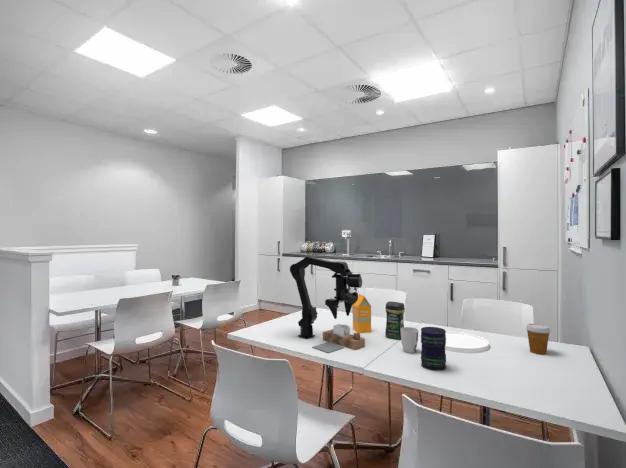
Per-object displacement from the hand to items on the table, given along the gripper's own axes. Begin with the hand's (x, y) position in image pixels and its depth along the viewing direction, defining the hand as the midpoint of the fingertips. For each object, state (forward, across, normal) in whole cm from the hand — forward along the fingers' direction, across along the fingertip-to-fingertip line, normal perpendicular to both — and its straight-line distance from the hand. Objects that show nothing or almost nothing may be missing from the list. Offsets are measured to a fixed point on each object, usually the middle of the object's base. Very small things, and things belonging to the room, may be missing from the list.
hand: (341, 317), depth 179 cm
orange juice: (+12, +22, +5) cm, 26 cm away
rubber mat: (+12, -12, -2) cm, 17 cm away
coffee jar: (+12, +25, -15) cm, 32 cm away
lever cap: (+8, -2, -2) cm, 8 cm away
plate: (+13, +38, -42) cm, 59 cm away
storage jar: (+13, +2, -49) cm, 50 cm away
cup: (+12, +11, -32) cm, 36 cm away
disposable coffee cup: (+13, +51, -74) cm, 91 cm away
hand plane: (+12, -2, -2) cm, 13 cm away
